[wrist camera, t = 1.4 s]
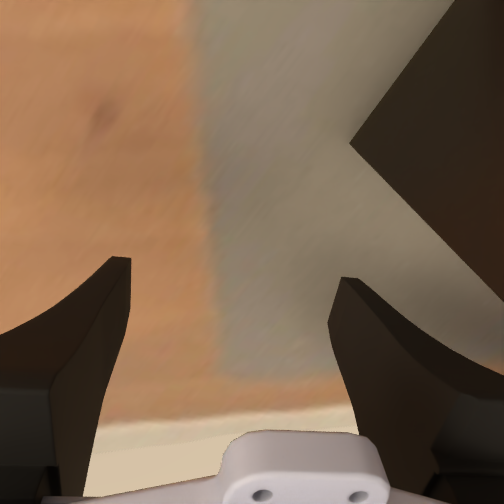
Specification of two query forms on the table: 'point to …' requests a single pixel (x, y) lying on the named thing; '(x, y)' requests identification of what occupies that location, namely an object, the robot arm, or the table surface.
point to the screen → (450, 135)
